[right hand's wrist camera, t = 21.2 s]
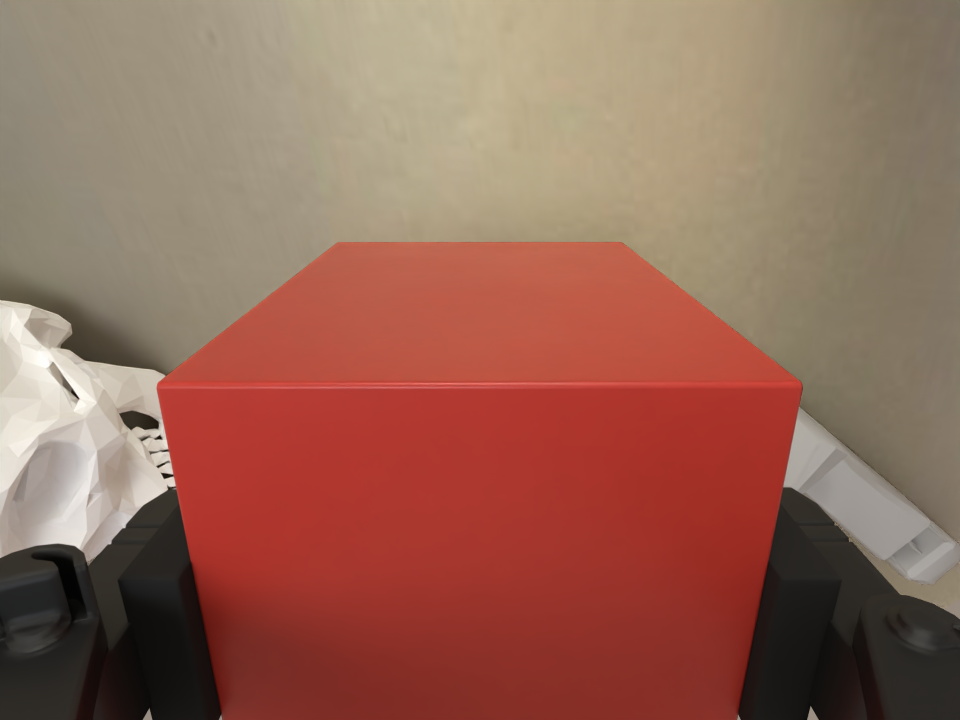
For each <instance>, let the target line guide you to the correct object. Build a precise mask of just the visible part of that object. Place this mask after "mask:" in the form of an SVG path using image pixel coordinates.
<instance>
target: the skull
mask: <svg viewBox="0 0 960 720" xmlns="http://www.w3.org/2000/svg"><path fill="white" fill-rule="evenodd" d="M71 335H72V328H71V324H70V323H69V322H68V321H66V320H65V319H64V318H62V317H61V316H59V315H58V314H55V313H52V312H49V311H46V310H43V309H40V308H37V307H34V306H31V305H29V304H23V303H17V302H11V301H2V300H0V558H1V557H4V556H6V555H8V554H10V553H13V552H16V551H19V550H23V549H26V548H30V547H33V546H38V545H47V544H57V543H59V544H65V545H72V546H76V547H77V548H78V549H80V550H81V551H82V552H84V554H85V557H86V561H87V562H88V561H89V560H91V559H92V558H94V557H95V556H97V555H98V554H100V552H101V551H102V550H103V549H104V548H105V547H106V546H107V545H108V544H111V542H112V539H113V538H114V537H115V536H116V535H117V534H118V533H119V531H120V530H121V529H122V528H126V524H127V523H128V521H129V520H130V519H131V518H132V517H133V516H134V515H135V514H136V513H137V511H138V510H139V509H140V508H141V507H142V506H143V505H144V504H146V503H148V502H149V501H151V500H153V499H154V498H156V497H157V496H159V495H161V494H162V493H164V492H165V491H167V490H168V487H174V486H176V485H175V479H174V476H173V477H170V478H167V479H164V478H163V477H162V475H161V473H167V474H173V469H172V464H171V459H170V454H169V452H162V451H165V450H167V449H168V444H167V439H166V434H165V429H164V424H163V419H162V414H161V409H160V404H159V399H158V394H157V389H156V388H157V383H158V382H159V381H160V380H162V379H163V378H164V377H165V375H164V374H161V373H159V372H157V371H155V370H151V369H142V368H133V367H124V366H116V365H111V364H105V363H98V362H91V361H84V360H83V359H81V358H80V357H79V356H77V355H76V354H74V353H73V352H71V351H70V350H67V349H60V347H61V344H62V343H63V342H64V341H65V340H66V339H67V338H69V337H70V336H71ZM72 388H73V390H74V391H75V393H76V394H77V395H78V397H79V398H80V399H79V400H78V399H77V398H76V397H75V396H74V395H73V394H72V393H71V390H72ZM127 411H137V412H140V413H143V414H147V415H150V416H151V417H153V418H154V419H156V420H157V421H158V423H159V427H158V429H148V430H144V429H142V428H140V427H135V428H134V429H132V430H130V429H129V428H128V427H127V426H126V425H125V424H124V423H123V421H122V419H121V417H120V415H119V413H123V412H127ZM159 435H160V436H161V437H162V439H163V440H154V439H155V438H156V437H158V436H159ZM146 437H148V439H146V440H144V441H141V440H143V439H144V438H146ZM168 450H169V449H168ZM149 452H150V453H151V452H157V453H154V454H151V455H150V453H149ZM163 463H165V465H163V466H161V467H159V468H157V467H156V466H159V465H161V464H163ZM174 489H176V488H174Z"/></svg>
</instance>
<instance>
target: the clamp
mask: <svg viewBox="0 0 960 720" xmlns="http://www.w3.org/2000/svg"><path fill="white" fill-rule="evenodd" d="M783 487H791V488H793V489H795V490H796V491H798V492H799V493H801V494H803V495H804V496H806V497H808V498H809V499H811V500H812V501H814V502H816V503H817V504H818V505H819V506H820V507H821V508H822V509H823V510H824V512H825V513H826V514H827V515H828V516H829V517H830V518H832V519H833V520H834V521H835V522H836V523H838V524H839V525H840V526H841V527H842V528H844V529H845V530H846V531H847V532H848V533H849V534H850V535H851V536H853V537H854V538H855V539H856V540H857V541H858V542H859V543H861V544H862V545H863V546H864V547H865V548H866V549H867V550H869V551H870V552H871V553H872V554H873V555H874V556H876V557H878V558H879V559H881V560H885V561H886V562H887V563H888V564H889V565H890V566H891V567H892V568H893V569H894V570H895V571H896V572H897V573H898V574H899V575H901V576H903V577H905V578H907V579H908V580H913V581H916V582H918V583H920V584H921V585H923V584H934V583H935V582H936V581H937V580H938V579H939V578H940V577H942V576H943V575H944V574H945V573H946V572H947V571H948V570H950V569H951V568H952V567H953V566H954V565H955V564H956V563H957V562H959V561H960V544H959V543H957V542H956V541H955V540H954V539H952V538H951V537H950V536H949V535H948V534H947V533H946V532H944V531H943V530H942V529H941V528H940V527H939V526H938V525H936V524H935V523H934V522H933V521H931V520H930V519H929V518H927V516H926V515H925V514H924V513H923V512H922V511H921V510H920V509H918V508H917V507H916V506H915V505H914V504H913V503H912V502H911V501H909V500H908V499H907V498H906V497H905V496H904V495H903V494H902V493H900V492H899V491H898V490H897V489H896V488H894V487H893V486H892V485H891V484H890V483H888V482H887V481H886V480H885V479H884V478H883V477H881V476H880V475H879V474H878V473H877V472H875V471H874V470H873V469H872V468H871V467H870V466H868V465H867V464H866V463H865V462H864V461H863V460H861V459H860V458H859V457H858V456H857V455H855V454H854V453H853V452H852V451H851V450H850V449H848V448H847V447H846V446H845V445H844V444H843V443H841V442H840V441H839V440H838V439H837V438H835V437H834V436H833V435H832V434H831V433H830V432H828V431H827V430H826V429H825V428H824V427H823V426H821V425H820V424H819V423H818V422H817V421H816V420H814V419H813V418H812V417H811V416H810V415H809V414H807V413H806V412H805V411H804V410H803V409H801V408H800V407H799V410H798V415H797V420H796V425H795V430H794V435H793V440H792V445H791V450H790V455H789V460H788V465H787V470H786V475H785V481H784V486H783Z"/></svg>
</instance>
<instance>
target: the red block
mask: <svg viewBox="0 0 960 720" xmlns="http://www.w3.org/2000/svg"><path fill="white" fill-rule="evenodd" d="M156 389H157V394H158V399H159V404H160V409H161V414H162V419H163V424H164V429H165V434H166V439H167V444H168V449H169V454H170V459H171V464H172V469H173V474H174V479H175V485H176V490H177V495H178V500H179V505H180V510H181V515H182V520H183V525H184V530H185V535H186V540H187V545H188V550H189V555H190V560H191V565H192V570H193V575H194V580H195V585H196V590H197V595H198V600H199V605H200V610H201V615H202V620H203V625H204V630H205V635H206V640H207V645H208V650H209V655H210V660H211V665H212V670H213V675H214V680H215V685H216V690H217V695H218V700H219V705H220V710H221V715H222V720H737V718H738V713H739V708H740V703H741V698H742V693H743V688H744V683H745V678H746V672H747V667H748V662H749V657H750V652H751V647H752V642H753V637H754V632H755V627H756V622H757V617H758V612H759V607H760V602H761V597H762V592H763V587H764V582H765V577H766V571H767V566H768V561H769V556H770V551H771V546H772V541H773V536H774V531H775V526H776V521H777V516H778V511H779V506H780V501H781V496H782V491H783V486H784V481H785V475H786V470H787V465H788V460H789V455H790V450H791V445H792V440H793V435H794V430H795V425H796V420H797V415H798V410H799V405H800V400H801V395H802V390H803V387H802V383H801V381H799V380H798V379H797V378H795V377H794V376H793V375H792V374H790V373H789V372H788V371H786V370H785V369H784V368H783V367H781V366H780V365H779V364H777V363H776V362H775V361H774V360H772V359H771V358H770V357H768V356H767V355H766V354H765V353H763V352H762V351H761V350H759V349H758V348H757V347H756V346H754V345H753V344H752V343H750V342H749V341H748V340H747V339H745V338H744V337H743V336H741V335H740V334H739V333H738V332H736V331H735V330H734V329H733V328H731V327H730V326H729V325H727V324H726V323H725V322H724V321H722V320H721V319H720V318H718V317H717V316H716V315H715V314H713V313H712V312H711V311H709V310H708V309H707V308H706V307H704V306H703V305H702V304H700V303H699V302H698V301H697V300H695V299H694V298H693V297H691V296H690V295H689V294H688V293H686V292H685V291H684V290H682V289H681V288H680V287H679V286H677V285H676V284H675V283H673V282H672V281H671V280H670V279H668V278H667V277H666V276H665V275H663V274H662V273H661V272H659V271H658V270H657V269H656V268H654V267H653V266H652V265H650V264H649V263H648V262H647V261H645V260H644V259H643V258H641V257H640V256H639V255H638V254H636V253H635V252H634V251H632V250H631V249H630V248H629V247H627V246H626V245H625V244H623V243H622V242H338V243H336V244H335V245H334V246H332V247H331V248H330V249H328V250H327V251H326V252H325V253H323V254H322V255H321V256H319V257H318V258H317V259H316V260H314V261H313V262H312V263H310V264H309V265H308V266H307V267H305V268H304V269H303V270H301V271H300V272H299V273H298V274H296V275H295V276H294V277H292V278H291V279H290V280H289V281H287V282H286V283H285V284H283V285H282V286H281V287H280V288H278V289H277V290H276V291H274V292H273V293H272V294H271V295H269V296H268V297H267V298H266V299H264V300H263V301H262V302H260V303H259V304H258V305H257V306H255V307H254V308H253V309H251V310H250V311H249V312H248V313H246V314H245V315H244V316H242V317H241V318H240V319H239V320H237V321H236V322H235V323H233V324H232V325H231V326H230V327H228V328H227V329H226V330H224V331H223V332H222V333H221V334H219V335H218V336H217V337H215V338H214V339H213V340H212V341H210V342H209V343H208V344H206V345H205V346H204V347H203V348H201V349H200V350H199V351H197V352H196V353H195V354H194V355H192V356H191V357H190V358H189V359H187V360H186V361H185V362H183V363H182V364H181V365H180V366H178V367H177V368H176V369H174V370H173V371H172V372H171V373H169V374H168V375H167V376H165V377H164V378H163V379H162V380H160V381H159V382H158V383H157V388H156Z"/></svg>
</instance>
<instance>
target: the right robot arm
mask: <svg viewBox="0 0 960 720" xmlns="http://www.w3.org/2000/svg"><path fill="white" fill-rule="evenodd" d="M810 706H811V707H812V709H813V711H814V712H815V714H816V716H817V717H818V719H819V720H960V619H958V618H957V617H956V616H955V615H953V614H951V613H949V612H947V611H945V610H944V609H942V608H940V607H938V606H936V605H934V604H932V603H929V602H926V601H923V600H920V599H917V598H914V597H911V596H906V595H900V594H899V593H898V592H897V591H896V590H895V589H894V588H893V586H892V585H891V584H890V583H889V582H888V581H887V580H886V579H885V578H884V577H883V575H882V574H881V573H880V572H879V571H878V570H877V569H876V568H875V567H874V566H873V564H872V563H871V562H870V561H869V560H868V559H867V558H866V557H865V556H864V555H863V553H862V552H861V551H860V550H859V549H858V548H857V547H856V546H855V545H854V544H853V542H849V540H848V537H847V536H846V535H845V534H844V532H843V531H842V530H841V529H840V528H839V527H838V526H835V525H834V521H833V520H832V519H831V518H830V517H829V516H828V515H827V514H826V513H825V512H824V510H823V509H822V508H821V507H820V506H819V505H818V504H817V503H816V502H814V501H812V500H811V499H809V498H808V497H806V496H804V495H803V494H801V493H799V492H798V491H796V490H795V489H793V488H791V487H783V491H782V496H781V501H780V506H779V511H778V516H777V521H776V526H775V531H774V536H773V541H772V546H771V551H770V556H769V561H768V566H767V571H766V577H765V582H764V587H763V592H762V597H761V602H760V607H759V612H758V617H757V622H756V627H755V632H754V637H753V642H752V647H751V652H750V657H749V662H748V667H747V672H746V678H745V683H744V688H743V693H742V698H741V703H740V708H739V713H738V715H739V717H740V719H741V720H807V718H808V714H809V710H810ZM149 708H150V712H151V716H152V720H219V718H220V716H221V710H220V705H219V700H218V695H217V690H216V685H215V680H214V675H213V670H212V665H211V660H210V655H209V650H208V645H207V640H206V635H205V630H204V625H203V620H202V615H201V610H200V605H199V600H198V595H197V590H196V585H195V580H194V575H193V570H192V565H191V560H190V555H189V550H188V545H187V540H186V535H185V530H184V525H183V520H182V515H181V510H180V505H179V500H178V495H177V490H176V489H169V490H167V491H165V492H164V493H162V494H161V495H159V496H157V497H156V498H154V499H153V500H151V501H149V502H148V503H146V504H144V505H143V506H142V507H141V508H140V509H139V510H138V511H137V513H136V514H135V515H134V516H133V517H132V518H131V519H130V520H129V521H128V523H127V524H126V528H122V529H121V530H120V531H119V533H118V534H117V535H116V536H115V537H114V538H113V539H112V542H111V544H108V545H107V546H106V547H105V548H104V549H103V550H102V551H101V552H100V554H99V555H98V556H97V557H96V558H95V559H94V560H93V561H92V562H91V564H90V565H89V566H88V565H87V561H86V557H85V554H84V552H82V551H81V550H80V549H78V548H77V547H76V546H72V545H65V544H59V543H57V544H47V545H38V546H33V547H30V548H26V549H23V550H19V551H16V552H13V553H10V554H8V555H6V556H4V557H1V558H0V720H143V718H144V716H145V715H146V713H147V711H148V709H149Z"/></svg>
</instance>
